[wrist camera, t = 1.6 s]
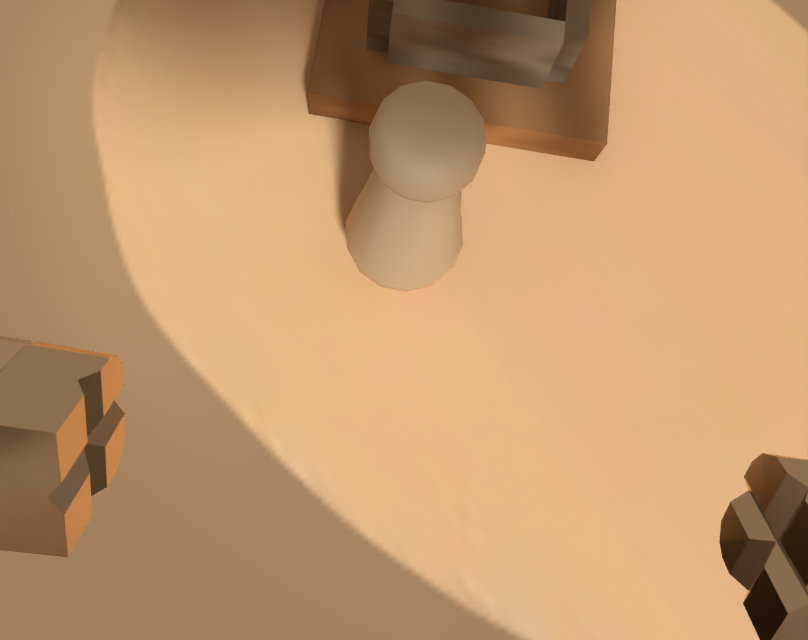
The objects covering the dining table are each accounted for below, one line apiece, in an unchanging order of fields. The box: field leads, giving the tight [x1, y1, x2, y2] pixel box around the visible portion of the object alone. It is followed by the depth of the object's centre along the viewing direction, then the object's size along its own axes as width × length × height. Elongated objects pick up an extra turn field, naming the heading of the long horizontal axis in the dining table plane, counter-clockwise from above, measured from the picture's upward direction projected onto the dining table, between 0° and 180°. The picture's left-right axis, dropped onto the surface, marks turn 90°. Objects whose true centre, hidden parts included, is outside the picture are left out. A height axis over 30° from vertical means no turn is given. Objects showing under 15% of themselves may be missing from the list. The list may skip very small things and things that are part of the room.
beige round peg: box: [346, 81, 486, 292], centre depth 31 cm, size 6×6×13 cm
